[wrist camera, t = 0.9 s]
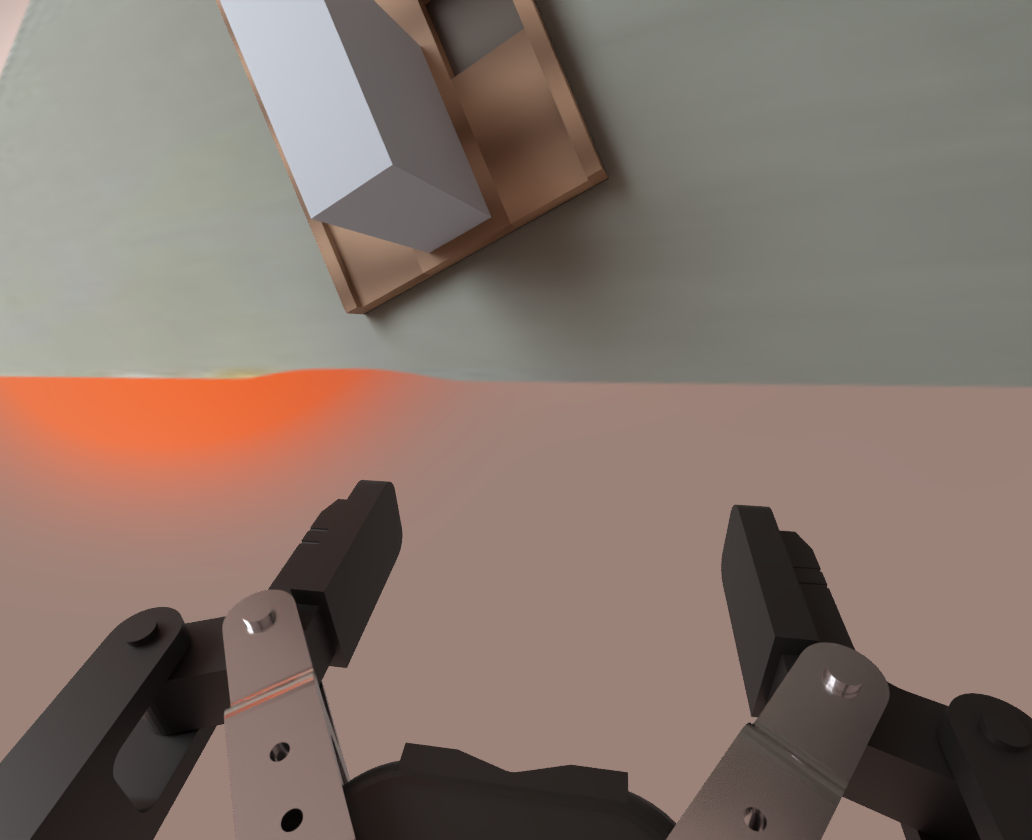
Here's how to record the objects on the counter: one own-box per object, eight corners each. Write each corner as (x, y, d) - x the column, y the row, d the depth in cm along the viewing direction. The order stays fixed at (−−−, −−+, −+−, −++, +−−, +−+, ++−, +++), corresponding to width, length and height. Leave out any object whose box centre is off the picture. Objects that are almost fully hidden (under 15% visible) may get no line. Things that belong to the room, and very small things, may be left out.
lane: (200, -79, 42) (118, -145, 37) (411, -295, 35) (352, -419, 29) (364, 314, 42) (308, 310, 37) (608, 178, 35) (587, 147, 29)
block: (361, 89, 38) (214, -13, 27) (420, 45, 36) (289, -84, 25) (429, 253, 38) (311, 218, 27) (491, 217, 36) (392, 164, 25)
